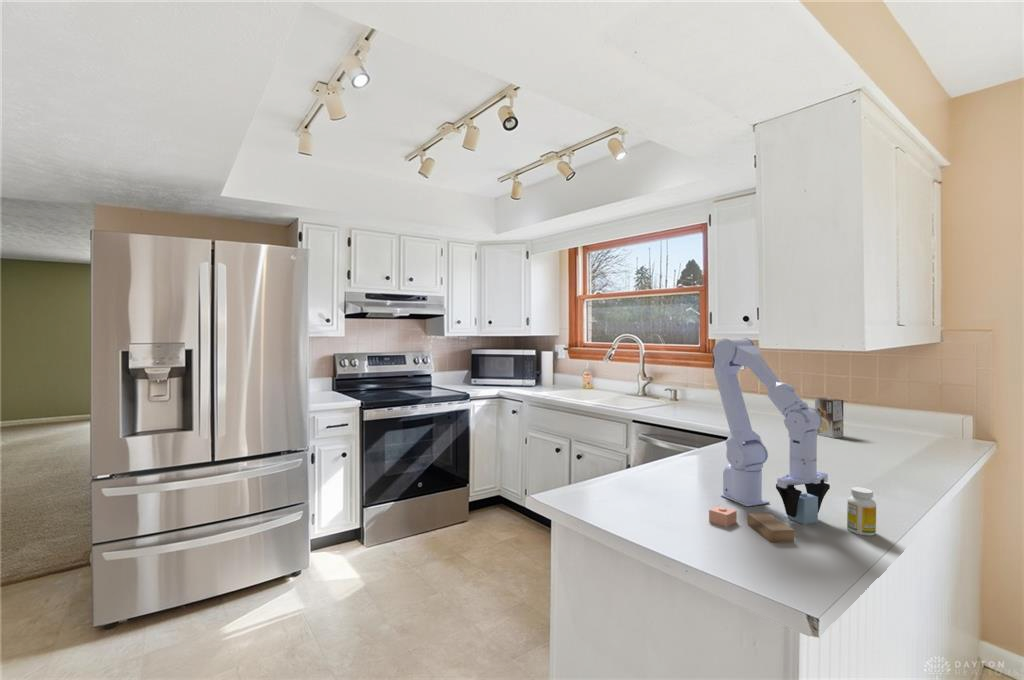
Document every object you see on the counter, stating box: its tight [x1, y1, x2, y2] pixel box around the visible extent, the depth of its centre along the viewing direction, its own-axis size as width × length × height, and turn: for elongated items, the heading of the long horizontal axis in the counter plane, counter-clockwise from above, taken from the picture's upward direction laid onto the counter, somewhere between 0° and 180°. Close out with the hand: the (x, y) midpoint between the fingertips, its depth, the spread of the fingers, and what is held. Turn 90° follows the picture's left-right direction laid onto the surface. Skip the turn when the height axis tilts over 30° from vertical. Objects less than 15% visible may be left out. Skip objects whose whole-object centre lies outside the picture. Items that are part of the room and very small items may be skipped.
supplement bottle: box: [846, 486, 877, 536], centre depth 111 cm, size 5×5×10 cm
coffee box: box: [814, 397, 844, 439], centre depth 212 cm, size 9×6×16 cm
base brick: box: [747, 512, 795, 544], centre depth 111 cm, size 10×5×3 cm, turn 2°
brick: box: [708, 505, 738, 528], centre depth 118 cm, size 4×4×3 cm
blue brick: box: [787, 491, 819, 525], centre depth 119 cm, size 4×4×6 cm
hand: (802, 513), depth 119 cm, fingers open, 7 cm apart
